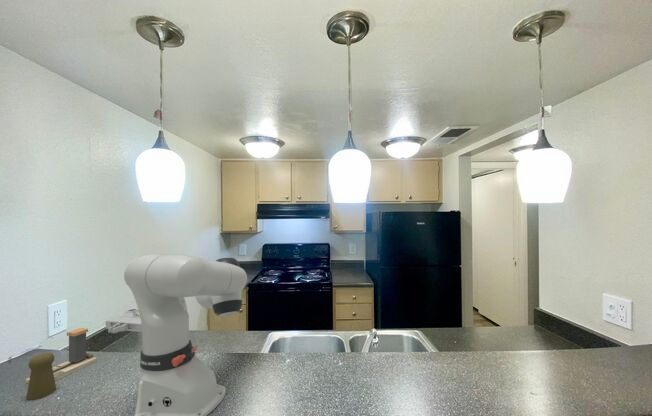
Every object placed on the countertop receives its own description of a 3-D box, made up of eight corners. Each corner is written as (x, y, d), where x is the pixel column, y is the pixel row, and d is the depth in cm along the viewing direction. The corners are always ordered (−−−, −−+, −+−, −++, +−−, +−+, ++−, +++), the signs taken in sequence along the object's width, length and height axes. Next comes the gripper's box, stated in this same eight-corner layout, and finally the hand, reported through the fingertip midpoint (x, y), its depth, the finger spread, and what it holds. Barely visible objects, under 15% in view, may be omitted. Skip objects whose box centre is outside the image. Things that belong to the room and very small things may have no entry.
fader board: (97, 361, 97) (97, 354, 97) (43, 386, 82) (43, 379, 82) (80, 358, 99) (80, 352, 99) (25, 383, 84) (25, 375, 84)
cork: (36, 401, 75) (36, 360, 76) (20, 399, 76) (20, 359, 77) (61, 388, 81) (61, 350, 81) (46, 386, 82) (46, 349, 83)
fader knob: (88, 357, 96) (88, 328, 96) (75, 363, 92) (75, 333, 92) (80, 356, 97) (80, 327, 97) (66, 362, 93) (66, 332, 93)
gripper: (162, 327, 116) (131, 341, 102) (126, 323, 121) (92, 337, 108) (162, 312, 116) (131, 324, 103) (126, 309, 122) (92, 321, 108)
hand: (110, 331), depth 105 cm, fingers closed
